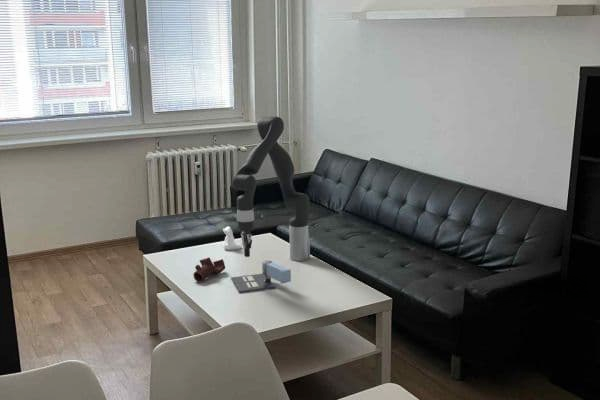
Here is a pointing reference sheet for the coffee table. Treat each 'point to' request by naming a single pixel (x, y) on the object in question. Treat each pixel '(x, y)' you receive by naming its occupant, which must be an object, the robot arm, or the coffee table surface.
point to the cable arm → (276, 271)
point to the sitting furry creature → (230, 240)
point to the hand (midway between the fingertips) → (247, 256)
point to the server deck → (252, 283)
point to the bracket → (208, 269)
